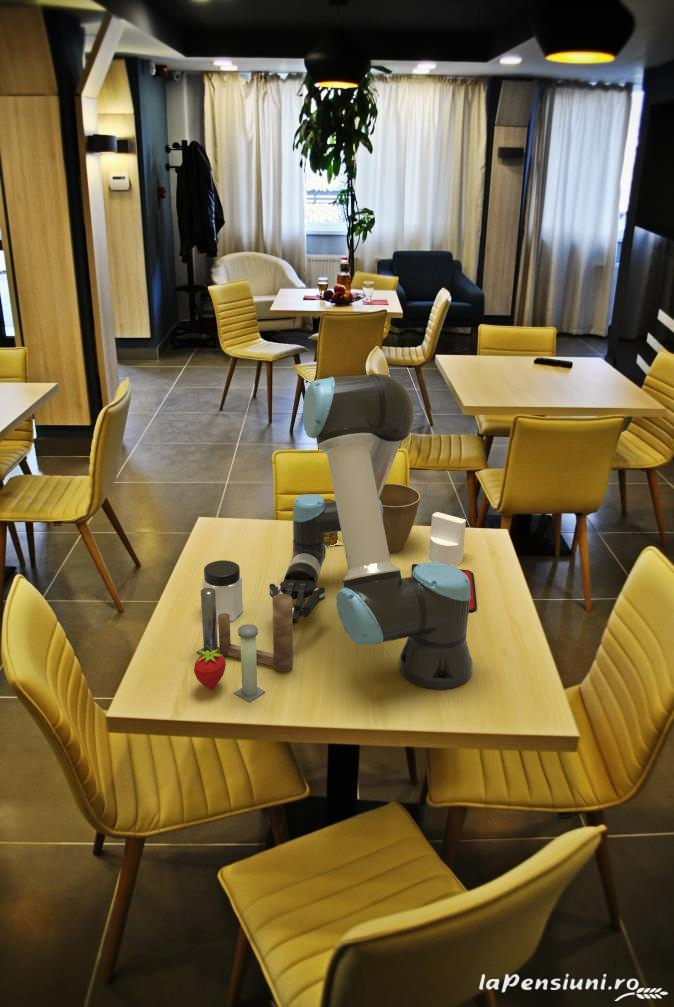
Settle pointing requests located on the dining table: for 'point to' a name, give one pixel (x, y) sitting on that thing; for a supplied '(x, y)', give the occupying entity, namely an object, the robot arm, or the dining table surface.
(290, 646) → the brown uneven u-shaped piece
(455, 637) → the robot arm
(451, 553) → the cylinder with rectangular tab
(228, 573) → the jar
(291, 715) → the dining table surface
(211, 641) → the hinge post
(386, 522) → the plant pot
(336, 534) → the condiment
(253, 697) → the post
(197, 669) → the strawberry
